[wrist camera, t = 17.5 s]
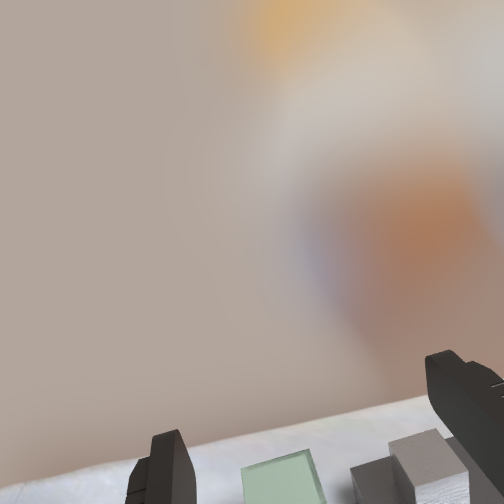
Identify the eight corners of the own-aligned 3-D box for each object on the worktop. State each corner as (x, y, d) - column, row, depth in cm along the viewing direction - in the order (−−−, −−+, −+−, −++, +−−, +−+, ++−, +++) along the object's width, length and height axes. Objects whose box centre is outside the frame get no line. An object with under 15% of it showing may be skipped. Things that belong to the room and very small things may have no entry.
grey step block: (399, 601, 29) (386, 528, 26) (356, 499, 36) (343, 434, 33) (528, 559, 29) (530, 482, 26) (459, 467, 37) (455, 400, 34)
